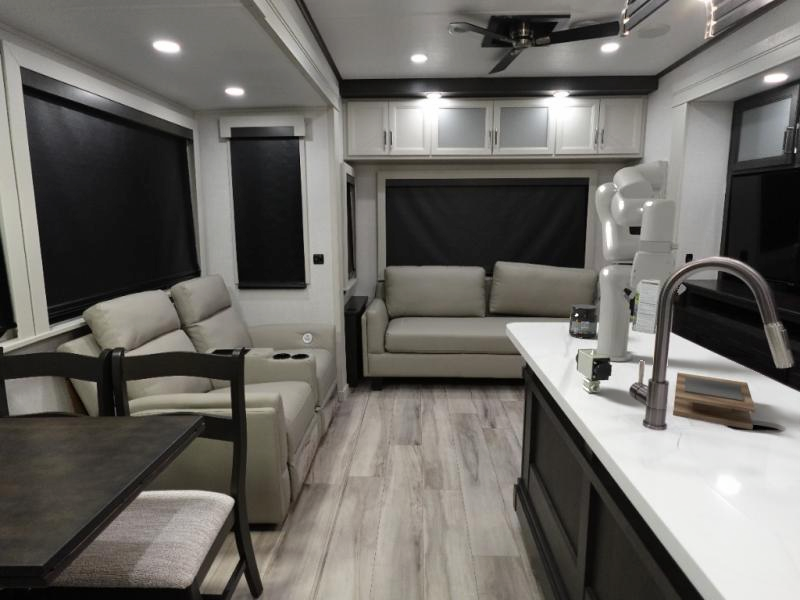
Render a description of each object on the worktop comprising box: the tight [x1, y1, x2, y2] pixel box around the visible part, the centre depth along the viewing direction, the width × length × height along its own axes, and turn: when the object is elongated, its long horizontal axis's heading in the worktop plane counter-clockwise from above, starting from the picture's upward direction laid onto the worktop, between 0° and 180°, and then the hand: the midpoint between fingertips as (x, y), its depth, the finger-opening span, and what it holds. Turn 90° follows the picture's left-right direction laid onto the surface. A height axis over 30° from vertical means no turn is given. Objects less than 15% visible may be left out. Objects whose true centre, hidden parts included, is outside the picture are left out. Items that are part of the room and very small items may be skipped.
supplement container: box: [568, 303, 599, 339], centre depth 193 cm, size 10×10×12 cm
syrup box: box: [631, 279, 661, 335], centre depth 129 cm, size 6×6×14 cm
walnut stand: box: [672, 371, 756, 431], centre depth 123 cm, size 20×16×5 cm
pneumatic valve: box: [575, 348, 613, 394], centre depth 134 cm, size 6×12×12 cm, turn 7°
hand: (648, 313), depth 130 cm, fingers closed on syrup box, 6 cm apart
